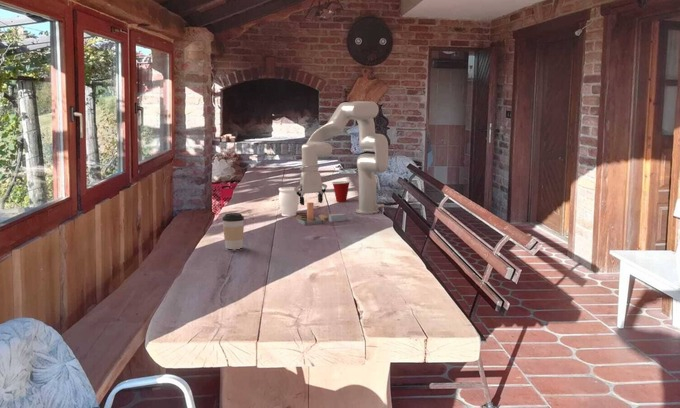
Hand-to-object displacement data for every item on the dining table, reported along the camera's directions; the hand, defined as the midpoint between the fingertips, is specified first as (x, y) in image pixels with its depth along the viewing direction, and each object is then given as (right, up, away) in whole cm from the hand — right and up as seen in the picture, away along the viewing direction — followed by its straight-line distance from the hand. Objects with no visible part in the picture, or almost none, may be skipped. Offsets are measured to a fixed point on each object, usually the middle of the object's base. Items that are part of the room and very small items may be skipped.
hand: (311, 203), depth 332 cm
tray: (0, -10, +1) cm, 10 cm away
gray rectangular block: (+13, -9, +6) cm, 17 cm away
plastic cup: (+15, +1, +67) cm, 69 cm away
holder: (-4, -9, +10) cm, 14 cm away
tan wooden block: (+9, -9, +11) cm, 17 cm away
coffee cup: (-31, -19, -47) cm, 59 cm away
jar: (-13, -7, +22) cm, 27 cm away
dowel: (0, -10, +1) cm, 10 cm away
